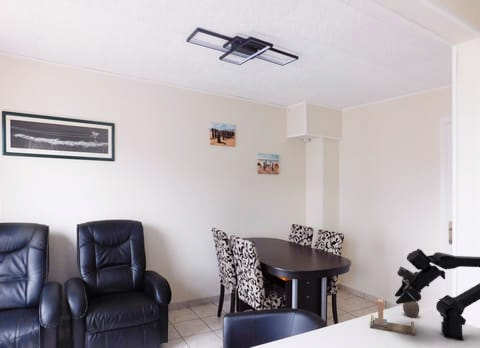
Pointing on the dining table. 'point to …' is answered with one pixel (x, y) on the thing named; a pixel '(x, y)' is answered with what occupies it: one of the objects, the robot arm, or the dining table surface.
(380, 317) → the fader
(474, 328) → the dining table surface
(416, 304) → the vase
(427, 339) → the dining table surface
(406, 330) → the fader track
